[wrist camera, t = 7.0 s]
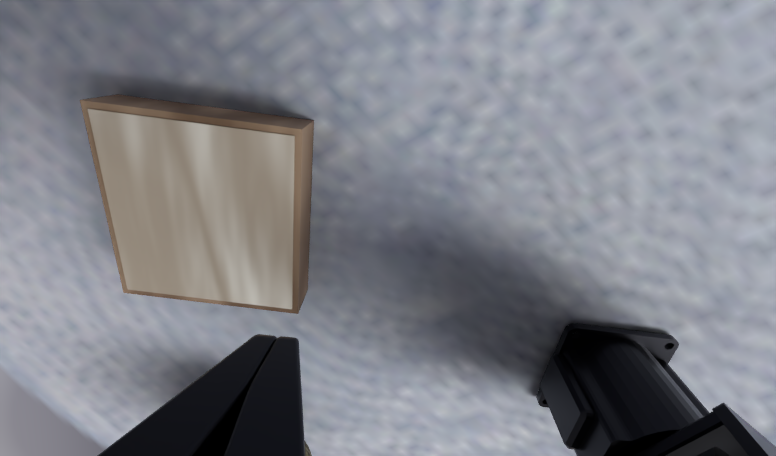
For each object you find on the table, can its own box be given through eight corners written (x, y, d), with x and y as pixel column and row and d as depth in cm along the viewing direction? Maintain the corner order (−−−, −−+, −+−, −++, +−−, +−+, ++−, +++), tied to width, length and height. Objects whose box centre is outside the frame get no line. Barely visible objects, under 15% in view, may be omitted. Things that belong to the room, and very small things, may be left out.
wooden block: (301, 129, 15) (78, 100, 15) (297, 314, 19) (122, 293, 19) (315, 118, 17) (123, 93, 17) (309, 285, 21) (154, 266, 21)
